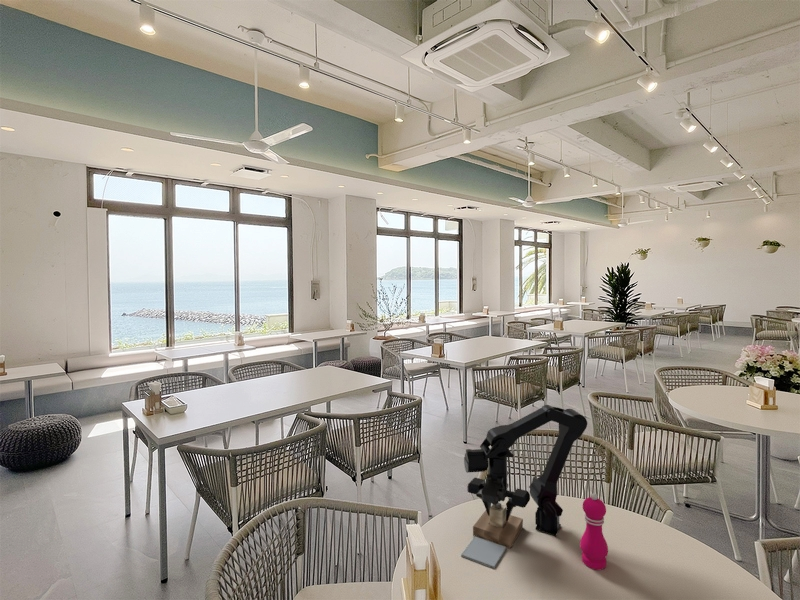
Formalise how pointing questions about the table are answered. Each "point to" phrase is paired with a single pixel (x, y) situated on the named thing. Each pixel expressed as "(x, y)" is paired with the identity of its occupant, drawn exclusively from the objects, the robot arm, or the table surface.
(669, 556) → the table surface
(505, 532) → the socket block
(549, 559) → the table surface
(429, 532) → the table surface
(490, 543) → the mat
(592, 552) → the pepper mill
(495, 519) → the plug
